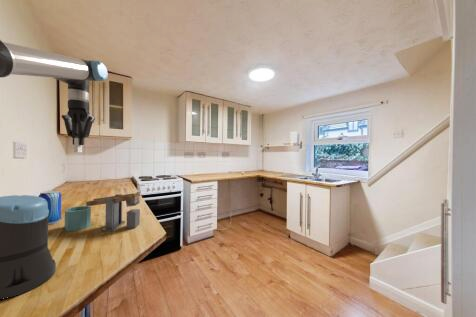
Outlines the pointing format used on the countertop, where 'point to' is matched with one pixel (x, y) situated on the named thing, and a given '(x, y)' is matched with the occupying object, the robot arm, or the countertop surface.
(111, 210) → the stand
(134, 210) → the block
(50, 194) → the beer can
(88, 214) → the teal beaker
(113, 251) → the countertop surface
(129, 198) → the lever
